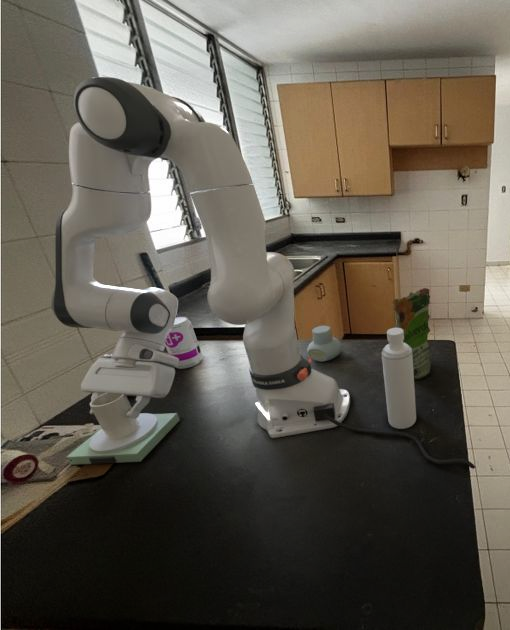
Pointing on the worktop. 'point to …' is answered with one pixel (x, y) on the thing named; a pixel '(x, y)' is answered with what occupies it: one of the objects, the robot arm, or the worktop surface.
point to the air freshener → (323, 344)
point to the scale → (125, 442)
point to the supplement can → (183, 343)
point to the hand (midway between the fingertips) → (113, 416)
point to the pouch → (415, 328)
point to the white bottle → (399, 380)
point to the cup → (114, 415)
